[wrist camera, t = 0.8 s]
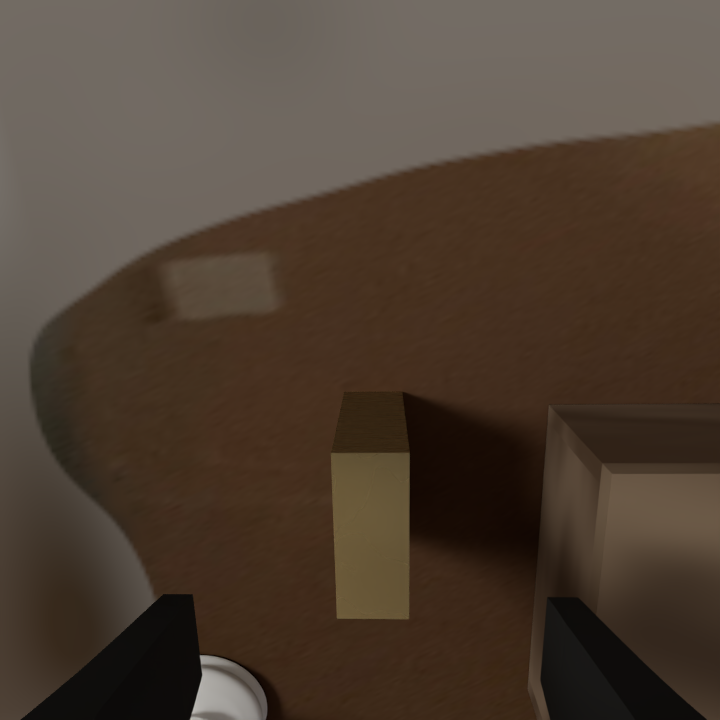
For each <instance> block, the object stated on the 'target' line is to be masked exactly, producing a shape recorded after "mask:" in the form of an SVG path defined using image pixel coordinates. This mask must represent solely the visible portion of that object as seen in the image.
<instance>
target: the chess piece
mask: <svg viewBox="0 0 720 720" xmlns="http://www.w3.org/2000/svg"><path fill="white" fill-rule="evenodd" d="M200 660H201V669H202V679H201V683H200V686H199V690H198V694H197V697H196V701H195V705H194V708H193V712H192V715H191V718H190V720H266V717H267V700H266V697H265V694H264V691H263V689H262V687H261V686H260V684H259V683H258V681H257V680H256V679H255V678H254V677H253V676H252V675H251V674H250V673H249V672H248V671H247V670H246V669H244V668H243V667H241V666H240V665H238V664H236V663H234V662H232V661H229V660H227V659H224V658H220V657H216V656H209V655H200Z"/></svg>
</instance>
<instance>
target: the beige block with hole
mask: <svg viewBox="0 0 720 720" xmlns="http://www.w3.org/2000/svg"><path fill="white" fill-rule="evenodd" d="M547 597H578V598H579V599H580V600H581V601H582V602H583V603H584V604H585V605H586V606H587V607H588V608H589V609H590V610H591V611H592V612H593V613H594V614H595V615H596V616H597V617H598V618H599V619H600V620H601V621H602V622H603V623H604V624H605V625H606V626H607V627H608V628H609V629H610V630H611V631H612V632H613V633H614V634H615V635H616V636H617V637H618V638H619V639H620V640H621V641H622V642H623V643H624V644H626V645H627V646H628V647H629V648H630V649H631V650H632V651H633V652H634V653H635V654H636V655H637V656H638V657H639V658H640V659H641V660H642V661H643V662H644V663H645V664H646V665H647V666H648V667H649V668H650V669H651V670H652V671H654V672H655V673H656V674H657V675H658V676H659V677H660V678H661V679H662V680H663V681H664V682H665V683H666V684H667V685H668V686H670V687H671V688H672V689H673V690H674V691H675V692H676V693H677V694H678V695H680V696H681V697H682V698H683V699H684V700H685V701H686V702H687V703H688V704H690V705H691V706H692V707H693V708H694V709H695V710H697V711H698V712H699V713H700V714H701V715H702V716H704V717H705V718H706V719H707V720H720V404H598V405H549V411H548V424H547V437H546V451H545V464H544V478H543V491H542V504H541V518H540V531H539V544H538V558H537V571H536V584H535V598H534V611H533V624H532V638H531V651H530V664H529V678H528V692H529V695H530V698H531V701H532V704H533V708H534V711H535V714H536V717H537V720H550V717H549V713H548V710H547V706H546V702H545V697H544V693H543V689H542V685H541V681H540V676H541V664H542V652H543V640H544V628H545V616H546V605H547Z"/></svg>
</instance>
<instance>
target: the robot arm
mask: <svg viewBox="0 0 720 720" xmlns="http://www.w3.org/2000/svg"><path fill="white" fill-rule="evenodd" d="M201 679H202V669H201V660H200V652H199V643H198V635H197V627H196V618H195V610H194V601H193V594H163V595H162V596H161V597H160V598H159V599H158V600H157V601H156V602H154V603H153V604H152V605H151V606H150V607H149V608H148V609H147V610H146V611H145V612H144V613H143V614H141V615H140V616H139V617H138V618H137V619H136V620H135V621H134V622H133V623H132V624H131V625H130V626H129V627H127V628H126V629H125V630H124V631H123V632H122V633H121V634H120V635H119V636H118V637H117V638H115V639H114V640H113V641H112V642H111V643H110V644H109V645H108V646H107V647H106V648H105V649H103V650H102V651H101V652H100V653H99V654H98V655H97V656H96V657H94V658H93V659H92V660H91V661H90V662H89V663H88V664H87V665H86V666H84V667H83V668H82V669H81V670H80V671H79V672H78V673H76V674H75V675H74V676H73V677H72V678H70V679H69V680H68V681H67V682H66V683H64V684H63V685H62V686H61V687H60V688H59V689H57V690H56V691H55V692H54V693H53V694H51V695H50V696H49V697H48V698H46V699H45V700H44V701H43V702H42V703H40V704H39V705H38V706H37V707H36V708H34V709H33V710H32V711H31V712H30V713H28V714H27V715H26V716H25V717H23V718H22V719H21V720H190V718H191V715H192V712H193V708H194V705H195V701H196V697H197V694H198V690H199V686H200V683H201ZM540 681H541V685H542V689H543V693H544V697H545V702H546V706H547V710H548V713H549V717H550V720H707V719H706V718H705V717H704V716H702V715H701V714H700V713H699V712H698V711H697V710H695V709H694V708H693V707H692V706H691V705H690V704H688V703H687V702H686V701H685V700H684V699H683V698H682V697H681V696H680V695H678V694H677V693H676V692H675V691H674V690H673V689H672V688H671V687H670V686H668V685H667V684H666V683H665V682H664V681H663V680H662V679H661V678H660V677H659V676H658V675H657V674H656V673H655V672H654V671H652V670H651V669H650V668H649V667H648V666H647V665H646V664H645V663H644V662H643V661H642V660H641V659H640V658H639V657H638V656H637V655H636V654H635V653H634V652H633V651H632V650H631V649H630V648H629V647H628V646H627V645H626V644H624V643H623V642H622V641H621V640H620V639H619V638H618V637H617V636H616V635H615V634H614V633H613V632H612V631H611V630H610V629H609V628H608V627H607V626H606V625H605V624H604V623H603V622H602V621H601V620H600V619H599V618H598V617H597V616H596V615H595V614H594V613H593V612H592V611H591V610H590V609H589V608H588V607H587V606H586V605H585V604H584V603H583V602H582V601H581V600H580V599H579V598H578V597H547V605H546V616H545V628H544V640H543V652H542V664H541V676H540Z"/></svg>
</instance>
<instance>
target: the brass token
mask: <svg viewBox="0 0 720 720" xmlns="http://www.w3.org/2000/svg"><path fill="white" fill-rule="evenodd" d="M331 466H332V494H333V521H334V548H335V576H336V603H337V618H346V619H409V505H410V451H409V443H408V435H407V427H406V419H405V411H404V402H403V394H402V392H344V395H343V399H342V404H341V409H340V413H339V418H338V423H337V427H336V432H335V437H334V441H333V446H332V451H331Z"/></svg>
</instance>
